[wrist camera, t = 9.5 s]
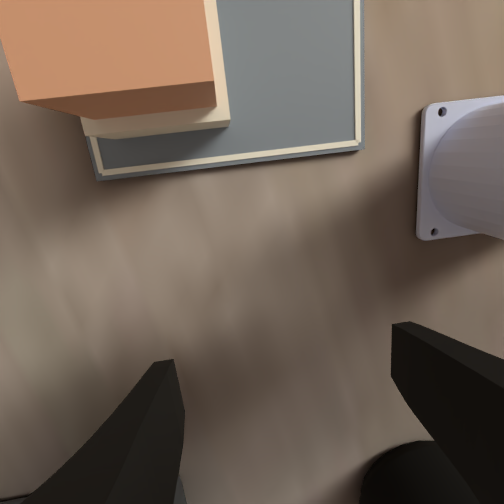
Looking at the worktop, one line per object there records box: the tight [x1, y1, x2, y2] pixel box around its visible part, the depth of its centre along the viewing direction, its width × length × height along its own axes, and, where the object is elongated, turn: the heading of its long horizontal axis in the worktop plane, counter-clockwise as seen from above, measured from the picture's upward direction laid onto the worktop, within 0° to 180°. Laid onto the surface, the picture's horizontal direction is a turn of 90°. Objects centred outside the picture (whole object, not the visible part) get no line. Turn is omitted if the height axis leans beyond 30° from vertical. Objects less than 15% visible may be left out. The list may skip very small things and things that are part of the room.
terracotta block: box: [0, 0, 217, 120], centre depth 10 cm, size 5×5×5 cm
